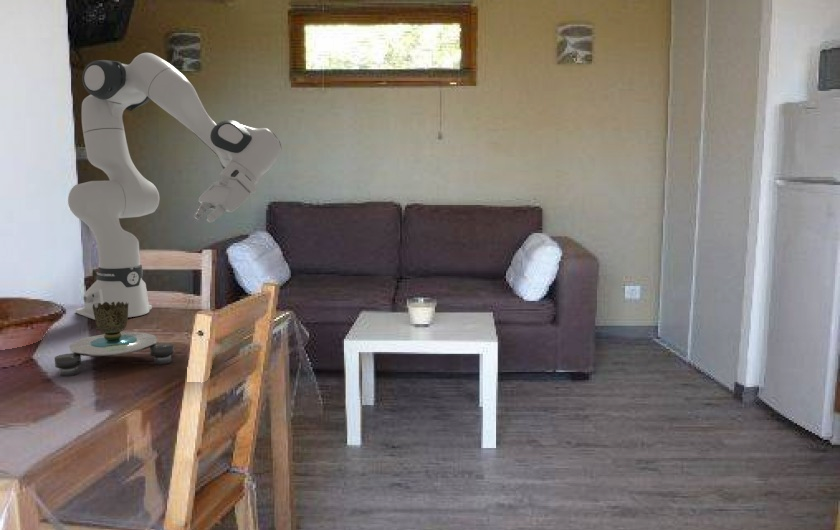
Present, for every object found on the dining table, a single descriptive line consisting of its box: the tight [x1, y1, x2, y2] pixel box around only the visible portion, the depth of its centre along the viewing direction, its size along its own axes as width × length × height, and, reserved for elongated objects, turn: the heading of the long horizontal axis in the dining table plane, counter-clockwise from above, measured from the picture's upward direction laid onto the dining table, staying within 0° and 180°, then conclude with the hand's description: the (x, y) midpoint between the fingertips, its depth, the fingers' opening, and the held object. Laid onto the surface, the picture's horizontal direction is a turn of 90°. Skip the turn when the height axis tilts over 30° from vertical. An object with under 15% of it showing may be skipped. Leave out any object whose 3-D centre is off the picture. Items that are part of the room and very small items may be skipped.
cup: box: [93, 302, 129, 340], centre depth 167 cm, size 8×7×8 cm
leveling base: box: [54, 331, 175, 377], centre depth 164 cm, size 24×22×6 cm
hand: (202, 219), depth 191 cm, fingers open, 8 cm apart
